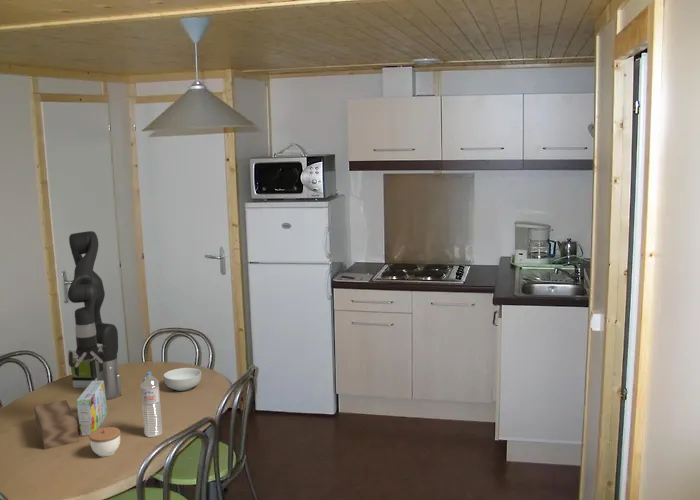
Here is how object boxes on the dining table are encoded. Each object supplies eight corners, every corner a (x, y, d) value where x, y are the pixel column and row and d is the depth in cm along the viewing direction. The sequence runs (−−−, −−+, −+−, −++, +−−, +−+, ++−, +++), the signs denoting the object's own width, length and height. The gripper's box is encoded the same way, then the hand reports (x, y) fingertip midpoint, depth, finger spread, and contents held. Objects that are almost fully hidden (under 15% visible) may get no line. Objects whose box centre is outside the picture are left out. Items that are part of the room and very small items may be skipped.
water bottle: (166, 431, 271) (161, 370, 267) (155, 438, 265) (151, 376, 261) (151, 429, 273) (146, 368, 269) (140, 436, 267) (135, 374, 263)
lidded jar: (91, 462, 247) (89, 437, 245) (89, 450, 256) (87, 426, 255) (123, 456, 251) (121, 431, 249) (120, 444, 260) (118, 420, 259)
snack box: (94, 415, 289) (91, 380, 286) (108, 414, 289) (105, 379, 287) (79, 436, 268) (75, 399, 266) (94, 436, 269) (90, 399, 266)
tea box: (88, 376, 336) (86, 347, 334) (108, 377, 335) (105, 347, 332) (72, 388, 321) (69, 357, 319) (92, 388, 320) (89, 357, 317)
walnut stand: (67, 418, 286) (66, 400, 285) (78, 441, 264) (76, 421, 262) (36, 425, 280) (34, 406, 279) (44, 449, 258) (42, 428, 256)
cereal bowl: (209, 385, 320) (208, 370, 319) (183, 397, 307) (182, 382, 305) (183, 379, 329) (182, 365, 328) (156, 390, 316) (155, 375, 314)
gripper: (102, 329, 279) (105, 368, 282) (65, 334, 272) (68, 374, 275) (106, 333, 273) (109, 373, 276) (68, 339, 266) (71, 379, 269)
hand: (89, 373), depth 275 cm, fingers open, 8 cm apart
